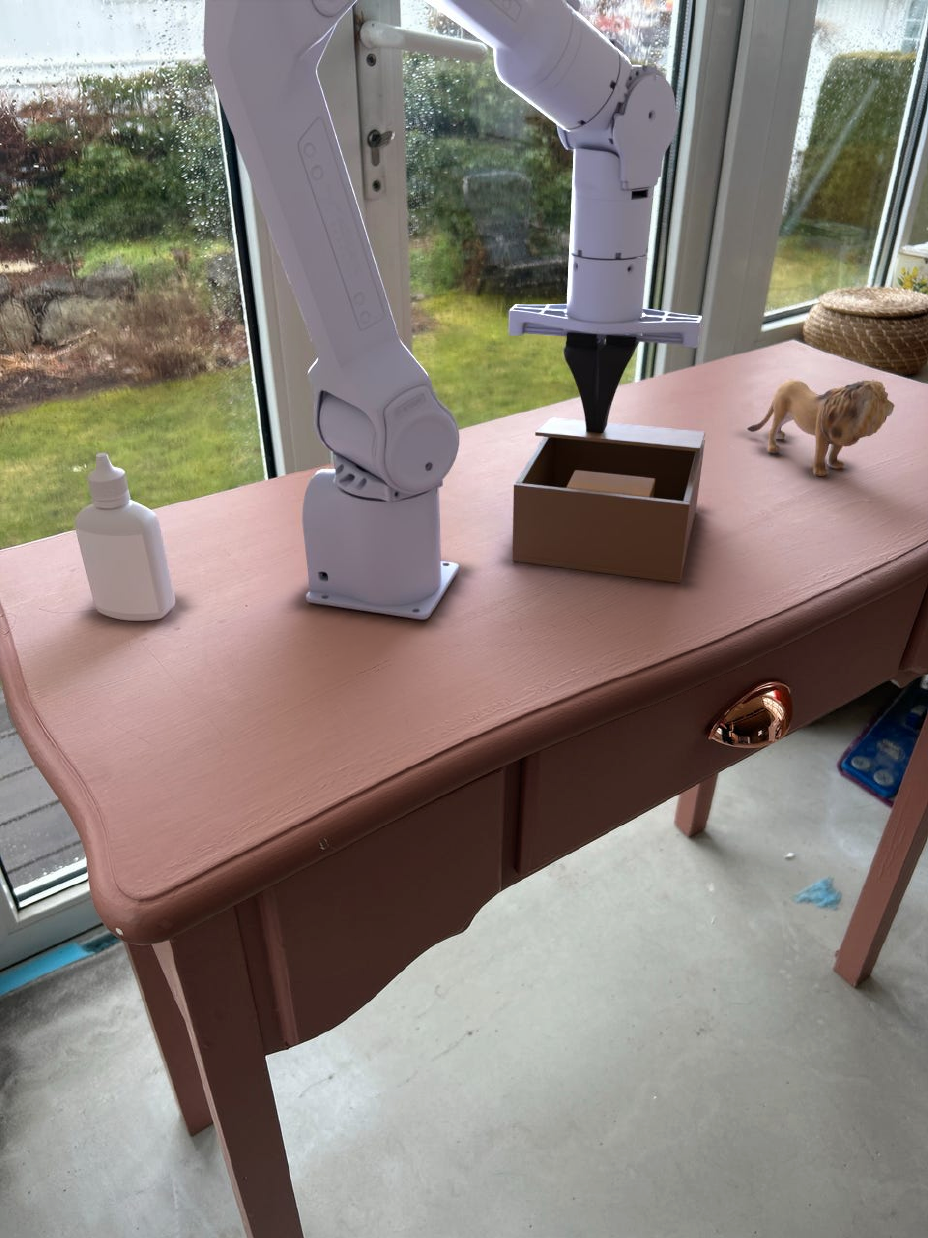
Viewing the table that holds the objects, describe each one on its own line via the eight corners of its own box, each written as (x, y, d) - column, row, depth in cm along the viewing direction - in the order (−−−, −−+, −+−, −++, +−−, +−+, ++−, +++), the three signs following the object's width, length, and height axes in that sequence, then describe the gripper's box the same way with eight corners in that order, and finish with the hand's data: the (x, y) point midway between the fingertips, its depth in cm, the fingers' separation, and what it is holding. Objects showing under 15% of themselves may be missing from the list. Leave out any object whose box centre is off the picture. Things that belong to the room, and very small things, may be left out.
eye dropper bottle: (131, 635, 66) (94, 475, 60) (88, 608, 69) (48, 453, 63) (184, 610, 69) (154, 455, 63) (141, 585, 72) (108, 435, 66)
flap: (535, 435, 76) (535, 431, 76) (551, 420, 82) (551, 417, 81) (699, 451, 73) (700, 448, 73) (704, 435, 78) (705, 431, 78)
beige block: (563, 539, 77) (566, 487, 74) (572, 520, 80) (574, 469, 77) (644, 549, 75) (649, 496, 73) (650, 529, 78) (655, 478, 76)
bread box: (512, 561, 75) (513, 484, 71) (548, 494, 85) (550, 424, 82) (679, 583, 72) (689, 504, 68) (695, 510, 82) (705, 439, 79)
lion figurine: (887, 476, 88) (910, 381, 83) (849, 490, 85) (871, 393, 80) (763, 429, 98) (778, 342, 93) (727, 440, 96) (740, 351, 91)
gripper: (713, 246, 72) (692, 419, 79) (525, 237, 75) (521, 404, 82) (705, 265, 66) (683, 450, 73) (502, 255, 69) (500, 432, 77)
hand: (596, 428), depth 77 cm, fingers closed
